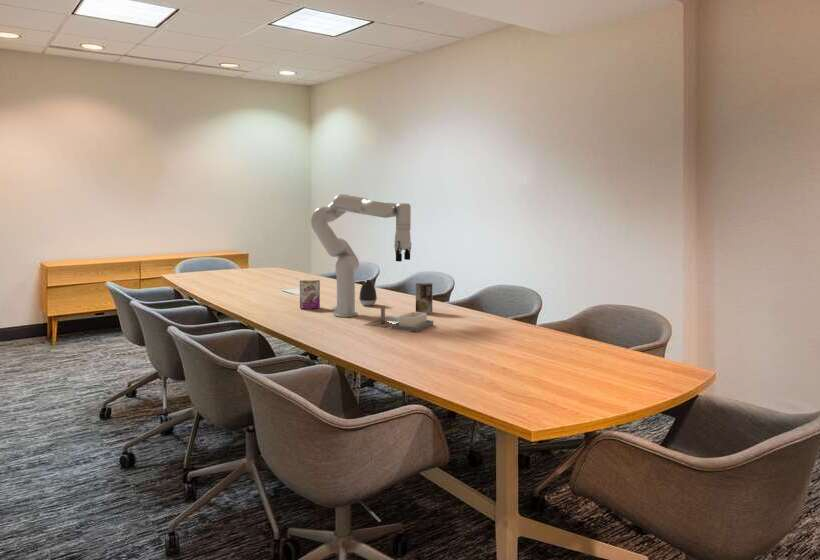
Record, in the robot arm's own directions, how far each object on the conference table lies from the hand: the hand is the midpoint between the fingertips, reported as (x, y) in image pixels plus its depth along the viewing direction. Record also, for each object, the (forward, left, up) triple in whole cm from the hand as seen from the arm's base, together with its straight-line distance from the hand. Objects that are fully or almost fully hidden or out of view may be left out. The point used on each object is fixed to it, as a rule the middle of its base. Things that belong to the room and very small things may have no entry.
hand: (403, 260), depth 316 cm
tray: (+15, -19, -30) cm, 39 cm away
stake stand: (-1, -20, -30) cm, 36 cm away
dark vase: (-35, +24, -31) cm, 52 cm away
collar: (+15, -18, -30) cm, 38 cm away
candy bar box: (-59, 0, -31) cm, 66 cm away
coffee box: (+4, +18, -31) cm, 36 cm away
